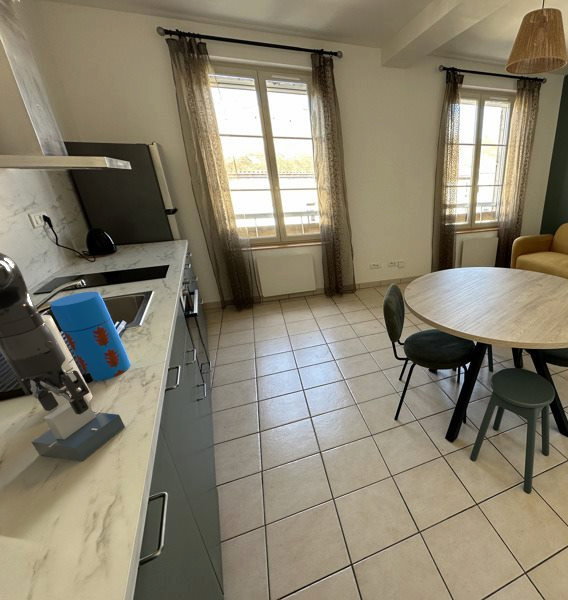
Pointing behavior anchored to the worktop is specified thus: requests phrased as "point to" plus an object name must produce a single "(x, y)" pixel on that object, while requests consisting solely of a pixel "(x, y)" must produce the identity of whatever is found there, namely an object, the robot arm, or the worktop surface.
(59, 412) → the tap handle
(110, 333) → the thermos
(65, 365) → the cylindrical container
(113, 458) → the worktop surface
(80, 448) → the block
